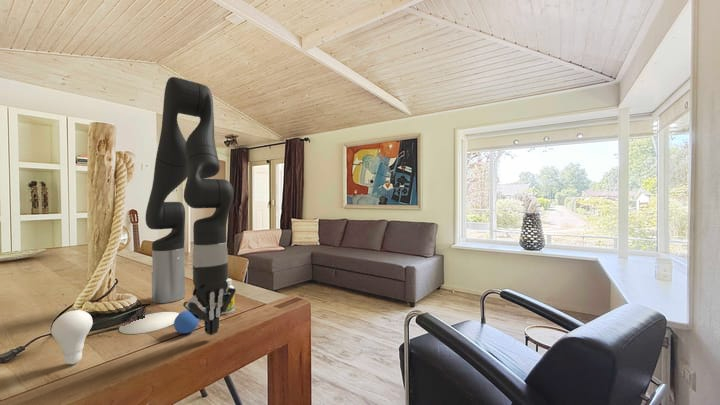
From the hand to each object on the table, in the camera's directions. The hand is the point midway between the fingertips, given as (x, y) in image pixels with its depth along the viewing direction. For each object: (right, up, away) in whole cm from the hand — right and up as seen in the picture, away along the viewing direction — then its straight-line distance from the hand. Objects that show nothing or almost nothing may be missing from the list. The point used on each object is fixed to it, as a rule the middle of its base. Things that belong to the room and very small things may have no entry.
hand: (211, 333), depth 70 cm
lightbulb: (-24, -2, -10) cm, 26 cm away
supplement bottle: (-5, -2, +18) cm, 19 cm away
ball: (-8, +1, +4) cm, 9 cm away
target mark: (-22, -2, +10) cm, 24 cm away
